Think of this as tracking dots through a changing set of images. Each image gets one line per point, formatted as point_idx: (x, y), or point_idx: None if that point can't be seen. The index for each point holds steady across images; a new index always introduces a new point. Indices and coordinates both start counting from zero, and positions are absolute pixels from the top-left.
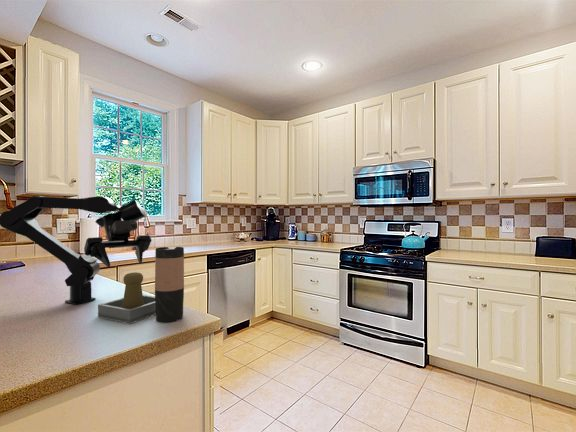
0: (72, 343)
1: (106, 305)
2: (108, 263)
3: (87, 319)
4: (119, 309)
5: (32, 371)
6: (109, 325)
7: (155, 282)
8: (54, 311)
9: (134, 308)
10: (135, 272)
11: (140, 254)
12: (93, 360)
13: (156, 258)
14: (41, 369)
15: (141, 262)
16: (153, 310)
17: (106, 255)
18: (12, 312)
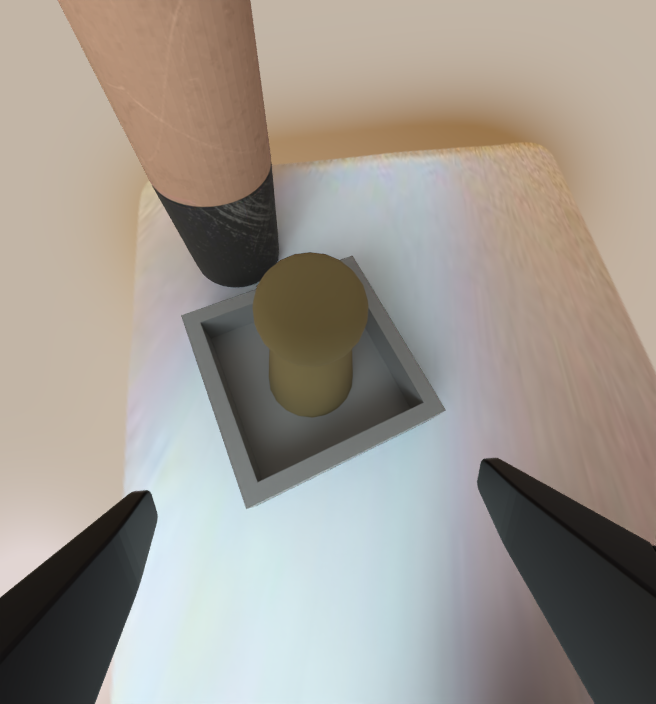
0: (483, 245)
1: (415, 374)
2: (509, 468)
3: (461, 417)
4: (377, 299)
5: (528, 174)
6: (399, 308)
7: (266, 132)
8: None
9: None
10: (294, 295)
11: (50, 587)
12: (440, 154)
13: None
14: (516, 172)
15: (141, 494)
16: None
17: (619, 556)
18: None
